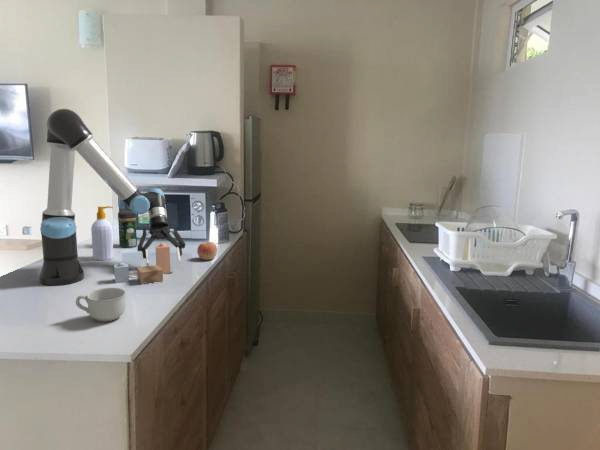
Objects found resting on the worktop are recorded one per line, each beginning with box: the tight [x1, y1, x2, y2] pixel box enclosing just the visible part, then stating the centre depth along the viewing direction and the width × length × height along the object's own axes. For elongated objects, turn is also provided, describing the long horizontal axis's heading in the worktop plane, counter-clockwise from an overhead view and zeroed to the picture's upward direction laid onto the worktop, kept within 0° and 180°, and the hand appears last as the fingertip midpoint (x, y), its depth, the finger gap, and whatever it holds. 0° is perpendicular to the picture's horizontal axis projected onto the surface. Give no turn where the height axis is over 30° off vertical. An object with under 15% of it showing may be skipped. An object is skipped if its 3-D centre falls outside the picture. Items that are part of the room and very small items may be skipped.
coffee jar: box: [117, 209, 138, 249], centre depth 232 cm, size 10×8×19 cm
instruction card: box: [129, 271, 138, 278], centre depth 184 cm, size 8×6×1 cm
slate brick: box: [113, 261, 130, 284], centre depth 175 cm, size 5×5×7 cm
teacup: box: [75, 287, 127, 323], centre depth 137 cm, size 14×11×8 cm
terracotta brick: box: [155, 242, 171, 275], centre depth 187 cm, size 5×5×12 cm
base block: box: [136, 264, 164, 285], centre depth 176 cm, size 8×8×5 cm
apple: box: [196, 241, 218, 261], centre depth 209 cm, size 9×9×8 cm
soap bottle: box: [90, 205, 114, 261], centre depth 206 cm, size 9×9×24 cm
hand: (163, 263), depth 185 cm, fingers open, 12 cm apart
